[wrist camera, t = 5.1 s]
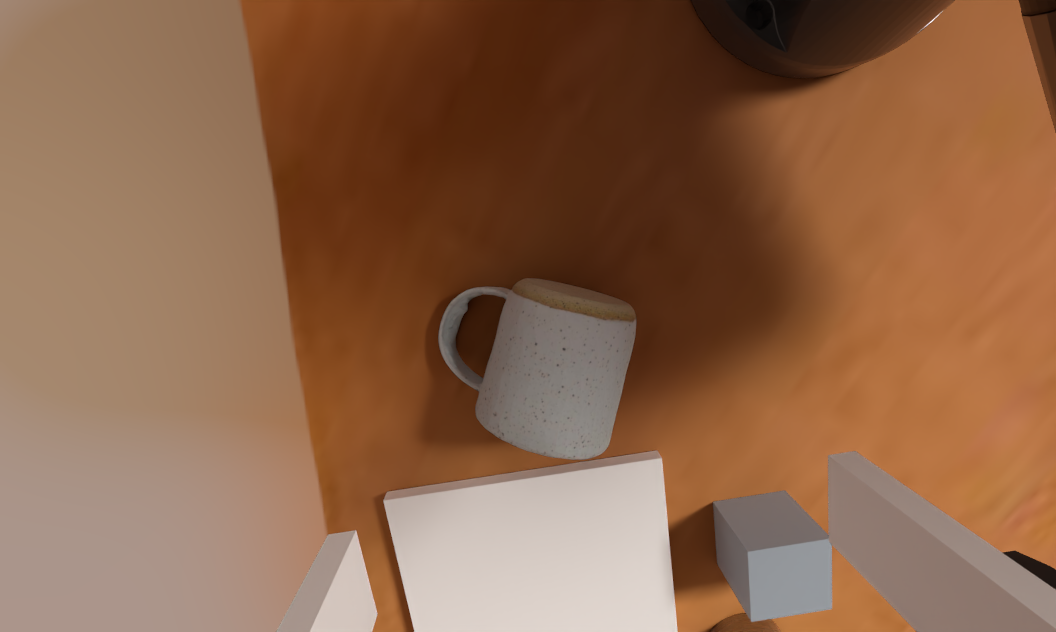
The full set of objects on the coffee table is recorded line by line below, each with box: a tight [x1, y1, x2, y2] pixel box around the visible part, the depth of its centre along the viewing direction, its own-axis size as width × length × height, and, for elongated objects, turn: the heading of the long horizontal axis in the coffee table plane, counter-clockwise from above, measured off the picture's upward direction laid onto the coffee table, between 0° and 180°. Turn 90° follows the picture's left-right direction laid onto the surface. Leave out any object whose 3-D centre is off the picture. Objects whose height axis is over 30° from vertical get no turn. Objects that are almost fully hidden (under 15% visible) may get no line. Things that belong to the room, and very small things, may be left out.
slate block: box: [713, 491, 832, 622], centre depth 32 cm, size 5×5×5 cm
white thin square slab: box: [383, 450, 677, 632], centre depth 34 cm, size 18×18×1 cm
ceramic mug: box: [438, 278, 636, 460], centre depth 27 cm, size 11×8×8 cm
